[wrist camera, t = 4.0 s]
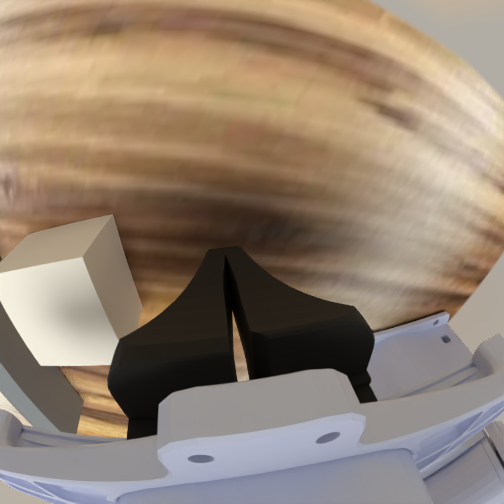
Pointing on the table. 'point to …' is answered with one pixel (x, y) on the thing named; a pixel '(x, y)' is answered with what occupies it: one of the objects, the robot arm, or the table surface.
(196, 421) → the robot arm
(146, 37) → the table surface
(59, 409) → the gray bar
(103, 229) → the cream block
